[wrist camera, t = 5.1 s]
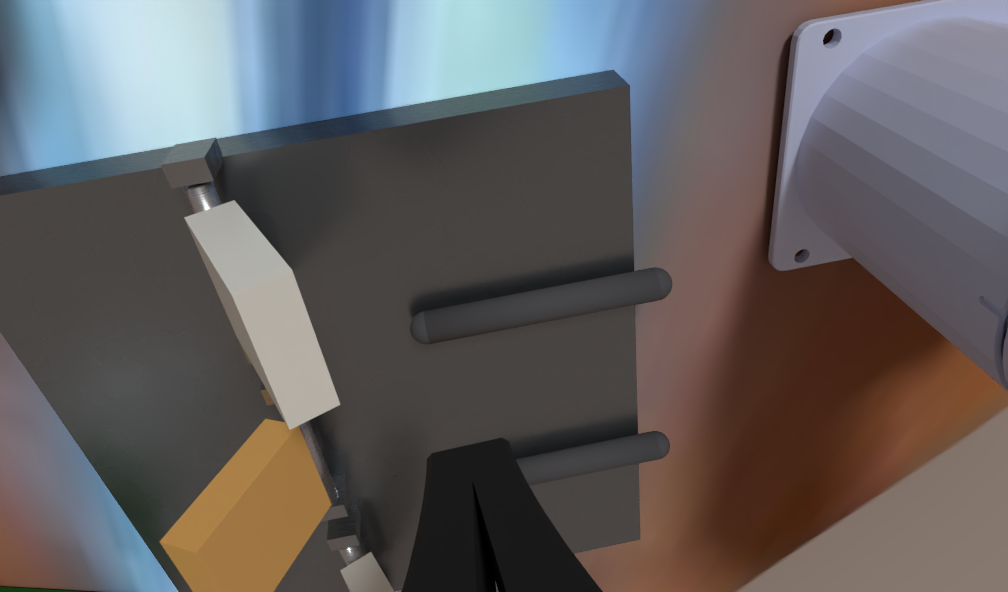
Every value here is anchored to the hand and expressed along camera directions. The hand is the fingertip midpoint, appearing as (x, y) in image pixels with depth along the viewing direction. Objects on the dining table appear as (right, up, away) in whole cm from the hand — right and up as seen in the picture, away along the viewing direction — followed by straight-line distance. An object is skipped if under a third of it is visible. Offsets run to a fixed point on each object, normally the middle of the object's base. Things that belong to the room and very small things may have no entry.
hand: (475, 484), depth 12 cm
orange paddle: (-6, -2, +10) cm, 11 cm away
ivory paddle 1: (-7, +4, +6) cm, 10 cm away
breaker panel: (-4, 0, +12) cm, 12 cm away
